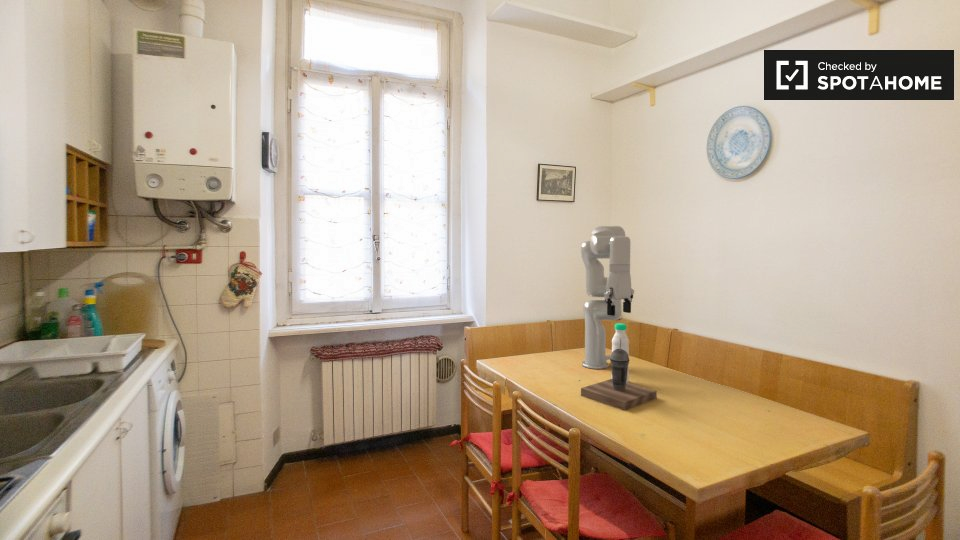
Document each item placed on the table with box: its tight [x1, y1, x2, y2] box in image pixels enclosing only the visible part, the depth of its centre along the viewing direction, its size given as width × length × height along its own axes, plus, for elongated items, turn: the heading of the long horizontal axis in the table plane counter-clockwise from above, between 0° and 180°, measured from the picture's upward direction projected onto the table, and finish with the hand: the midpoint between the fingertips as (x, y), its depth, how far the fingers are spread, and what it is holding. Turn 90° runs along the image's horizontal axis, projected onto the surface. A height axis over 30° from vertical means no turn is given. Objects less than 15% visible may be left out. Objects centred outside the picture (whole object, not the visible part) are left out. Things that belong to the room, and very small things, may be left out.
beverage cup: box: [609, 338, 630, 391], centre depth 178 cm, size 7×7×20 cm
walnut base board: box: [580, 378, 658, 411], centre depth 178 cm, size 20×20×3 cm
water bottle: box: [610, 322, 630, 383], centre depth 196 cm, size 7×7×25 cm
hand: (619, 313), depth 176 cm, fingers open, 9 cm apart
